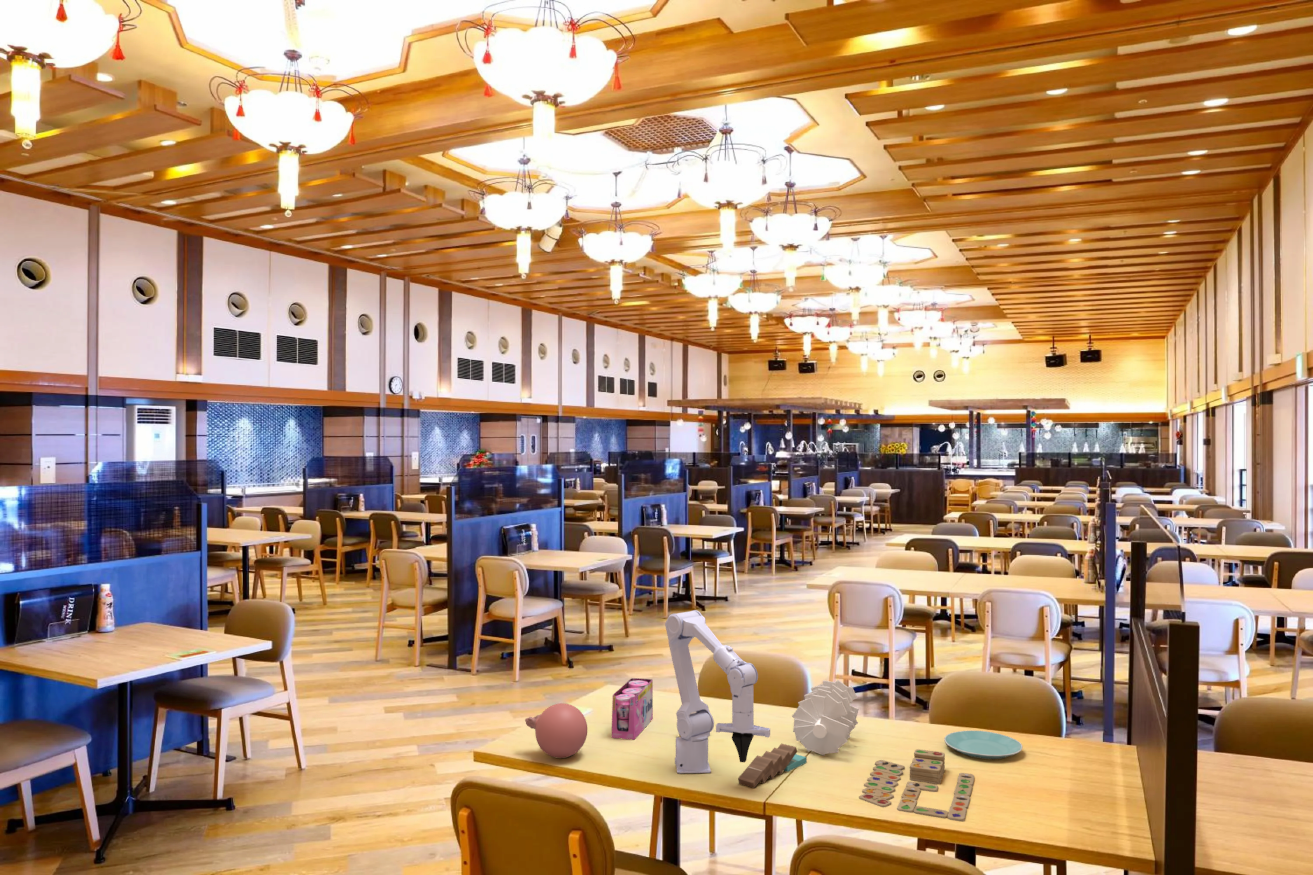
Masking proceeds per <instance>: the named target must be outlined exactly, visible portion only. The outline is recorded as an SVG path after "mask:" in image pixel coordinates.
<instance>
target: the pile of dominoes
mask: <svg viewBox="0 0 1313 875" xmlns="http://www.w3.org/2000/svg"><path fill="white" fill-rule="evenodd" d="M913 755H914V758H912V761H911V763H910V765H909V781H907V782H906V783H905V787H904V789H903V792H902V794H901V797H900V798H901V799H900V800H899V802H898V805H897V807H896V810H897V811H899V812H905V813H913V814H915V815H921V816H926V817H927V816H928V817H933V818H937V819H938V818H939V819H948V820H949V821H956V822H966V818H967V817H966V816H967V811H968V809H969V806H970V802H971V796H972V792H973V787H974V784H975V783H974V782H975V775H974V774H973V773H965V772H960V773H958V778H957V781H956V785H955V788H954V792H953V798H952V801H951V805H949V809H948V810H946V809H940V808H932V807H927V806H920V805H917V804H918V800H919V796H920V794H921V792H922V791H924V792H930V793H937V792H938V790H939V785H941V781H942V779H943V776H944V773H945V770H946V769H945V766H946V764H945V762H946V761H945V760H946V759H945V758H946V757H945V756H946V754H945V752H943V751H936V750H935V751H934V750H926V749H919V748H918V749H915V750H914V752H913ZM874 765H875V766H874V767H872V771H871V772H870V773H869V777H867V779H866V782H865V783H863V786H864V789H862V790H861V792H862V794H861V795H859V796H858V799H859V800H861V801H864V802H865V803H866V802H867V803H869V804H873V805H874V806H877V807H880V808H886V807H889V806H891V805H892V801H890V800H892V799H894V798H895V795H894V794H893V793H895V792H896V787H897V786H899V781H901V780H902V776H903V775H904V771H903V770H905V768H906V767H905V766H904V765H903V764H899V763H894V762H891V761H887V760H884V759H879V760H877V761H875V762H874Z"/></svg>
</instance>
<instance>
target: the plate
mask: <svg viewBox="0 0 1313 875" xmlns="http://www.w3.org/2000/svg"><path fill="white" fill-rule="evenodd" d="M943 739H944V742H945V744H946V745H947V746H948V747H949V748H952V749H953V750H955V751H957V752H959V753H961V754H963V755H965V756H969V757H972V758H976V759H977V758H978V759H982V760H983V759H984V760H1001V759H1005V758H1008V757H1010V756H1014V755H1017V754H1019V753H1020V752H1021V751H1022V750H1023V744H1022V743H1021V742H1020V741H1019V740H1017V739H1015V738H1013V737H1010V736H1007V735H1006V734H1005V735H1004V734H1001V733H999V732H993V731H988V730H987V731H986V730H960V731H953V732H950V733H948V734H946V735H945V737H944V738H943Z"/></svg>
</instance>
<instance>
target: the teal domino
mask: <svg viewBox="0 0 1313 875" xmlns="http://www.w3.org/2000/svg"><path fill="white" fill-rule="evenodd" d="M807 760H808V759H807V756H804V755H801V754H797V753H796V754H795V756H794V757H793V758H792V760H791V761H790V762H789V764H788V765H787V767H786V768H785V769H784V771H783V772H786V773H788V772H791V771H792V770H795V769H797V768H798V767H800V766H802V765H804V764H806V763H807Z"/></svg>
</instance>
